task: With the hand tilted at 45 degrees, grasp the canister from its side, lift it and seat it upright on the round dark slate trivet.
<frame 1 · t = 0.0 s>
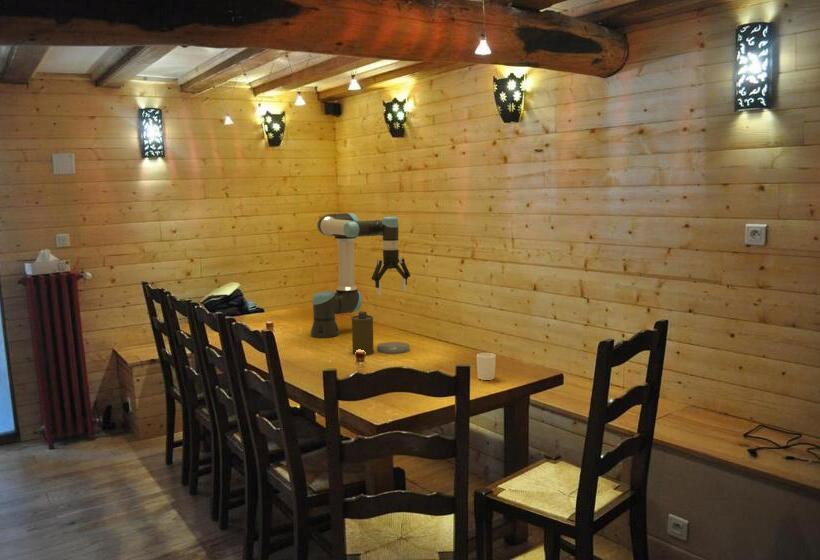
hand: (391, 293, 325), 28 cm above the table, tool pointing down, fingers open, 13 cm apart
white cup: (486, 379, 279), on the table
trivet: (393, 349, 330), on the table
canister: (363, 353, 324), on the table
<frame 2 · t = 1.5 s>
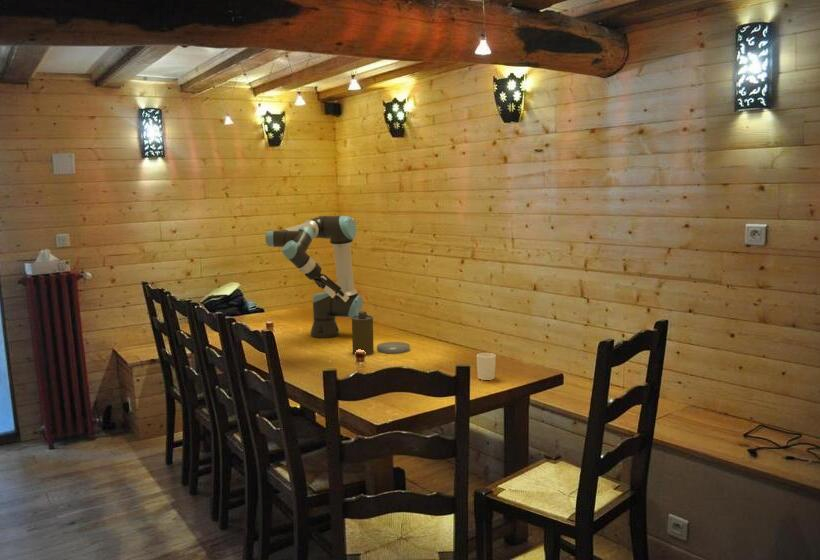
hand: (340, 298, 317), 27 cm above the table, tool tilted 45°, fingers open, 13 cm apart
nothing on the table moved.
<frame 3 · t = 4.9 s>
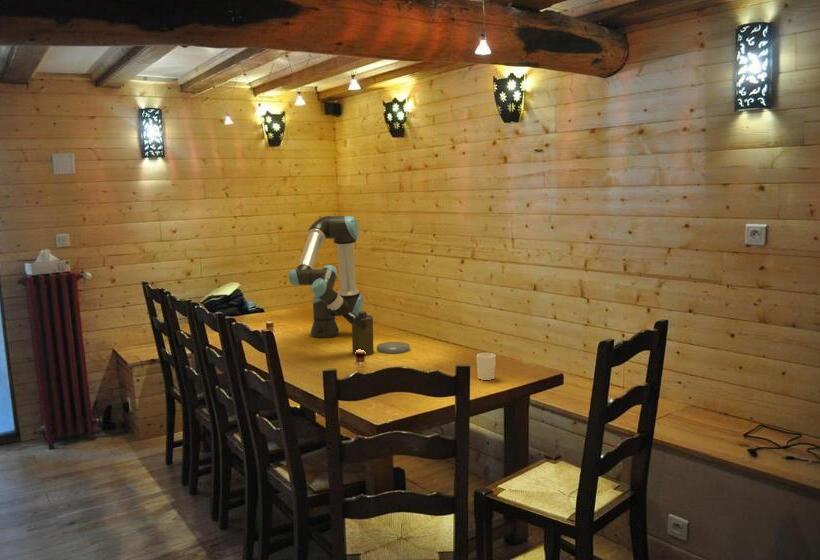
hand: (369, 335, 325), 8 cm above the table, tool tilted 45°, fingers open, 4 cm apart
canister: (363, 353, 324), on the table, touching hand
everything else where it was.
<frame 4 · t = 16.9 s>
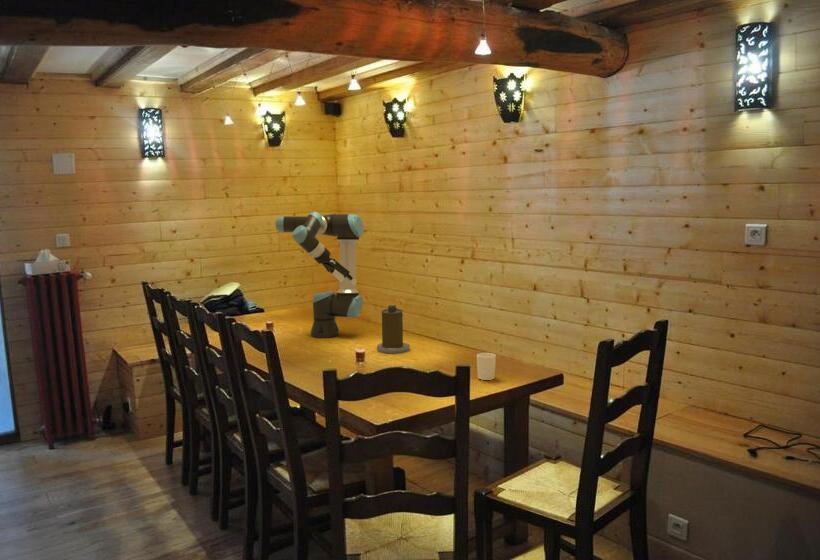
hand: (349, 281, 325), 34 cm above the table, tool tilted 45°, fingers open, 13 cm apart
canister: (392, 346, 329), point 2 cm above the table, touching trivet
everything else where it was.
at the end: canister inside the target area on the trivet (0.4 cm from its centre), point 1.8 cm above the trivet's base; canister tilted 0°; the gripper is holding nothing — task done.
